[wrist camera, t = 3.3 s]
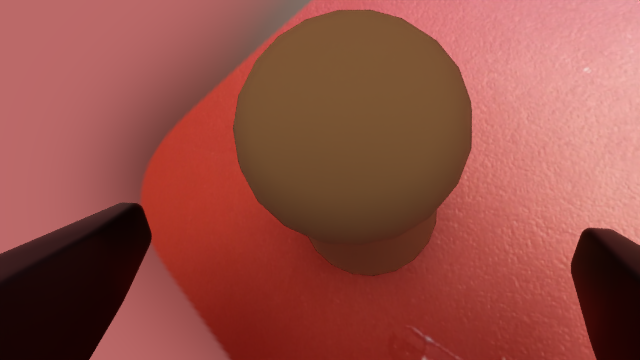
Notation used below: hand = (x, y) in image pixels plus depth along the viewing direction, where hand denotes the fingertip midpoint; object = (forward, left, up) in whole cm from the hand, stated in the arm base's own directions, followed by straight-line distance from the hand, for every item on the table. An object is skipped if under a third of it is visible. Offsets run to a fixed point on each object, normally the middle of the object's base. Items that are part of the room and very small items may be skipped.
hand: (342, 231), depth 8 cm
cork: (+2, +1, -10) cm, 10 cm away
